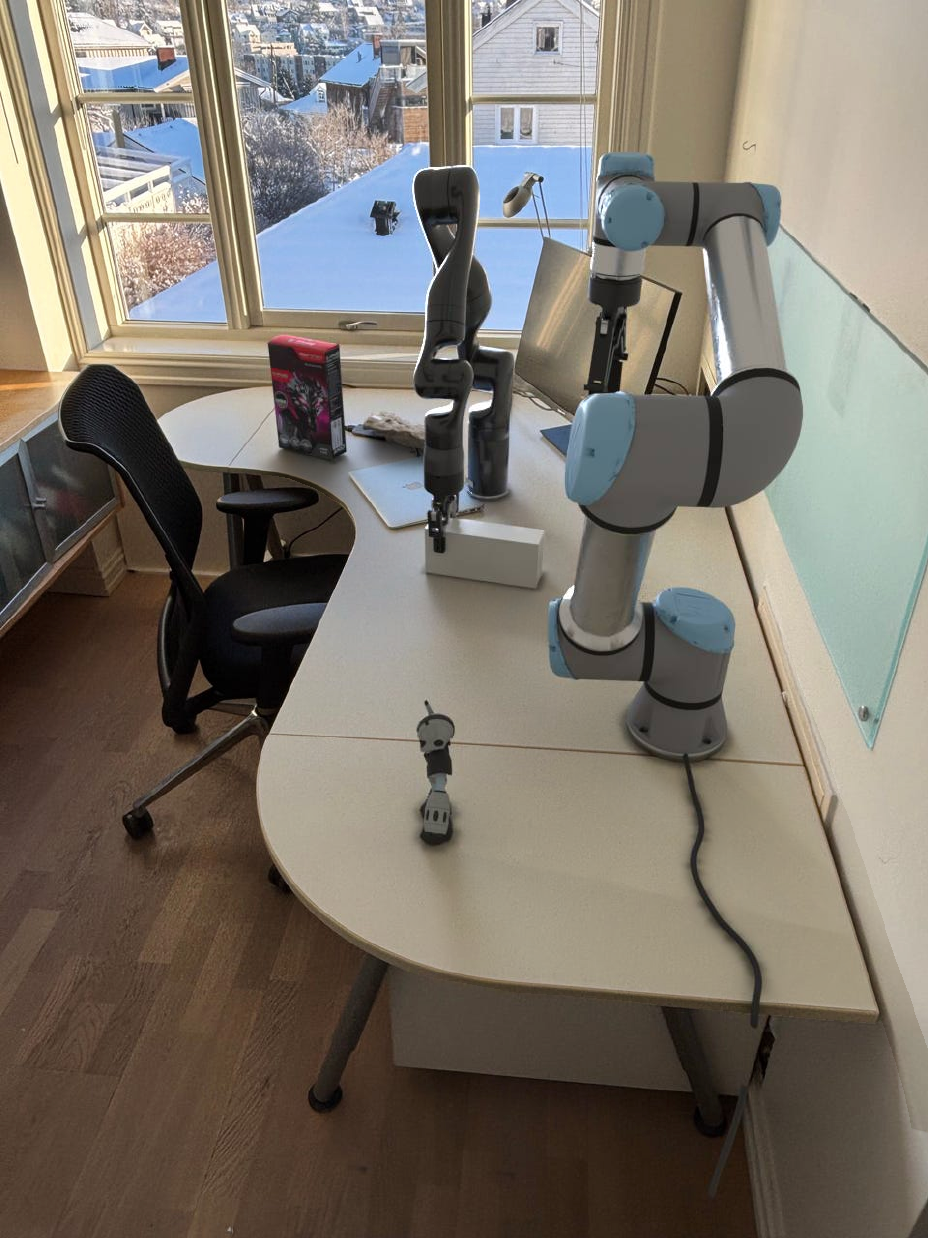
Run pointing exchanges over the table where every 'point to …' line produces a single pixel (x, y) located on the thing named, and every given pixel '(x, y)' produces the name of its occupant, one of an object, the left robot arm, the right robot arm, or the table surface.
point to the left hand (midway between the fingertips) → (444, 543)
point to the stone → (396, 429)
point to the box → (488, 553)
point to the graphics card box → (308, 395)
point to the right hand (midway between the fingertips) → (602, 416)
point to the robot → (436, 775)
